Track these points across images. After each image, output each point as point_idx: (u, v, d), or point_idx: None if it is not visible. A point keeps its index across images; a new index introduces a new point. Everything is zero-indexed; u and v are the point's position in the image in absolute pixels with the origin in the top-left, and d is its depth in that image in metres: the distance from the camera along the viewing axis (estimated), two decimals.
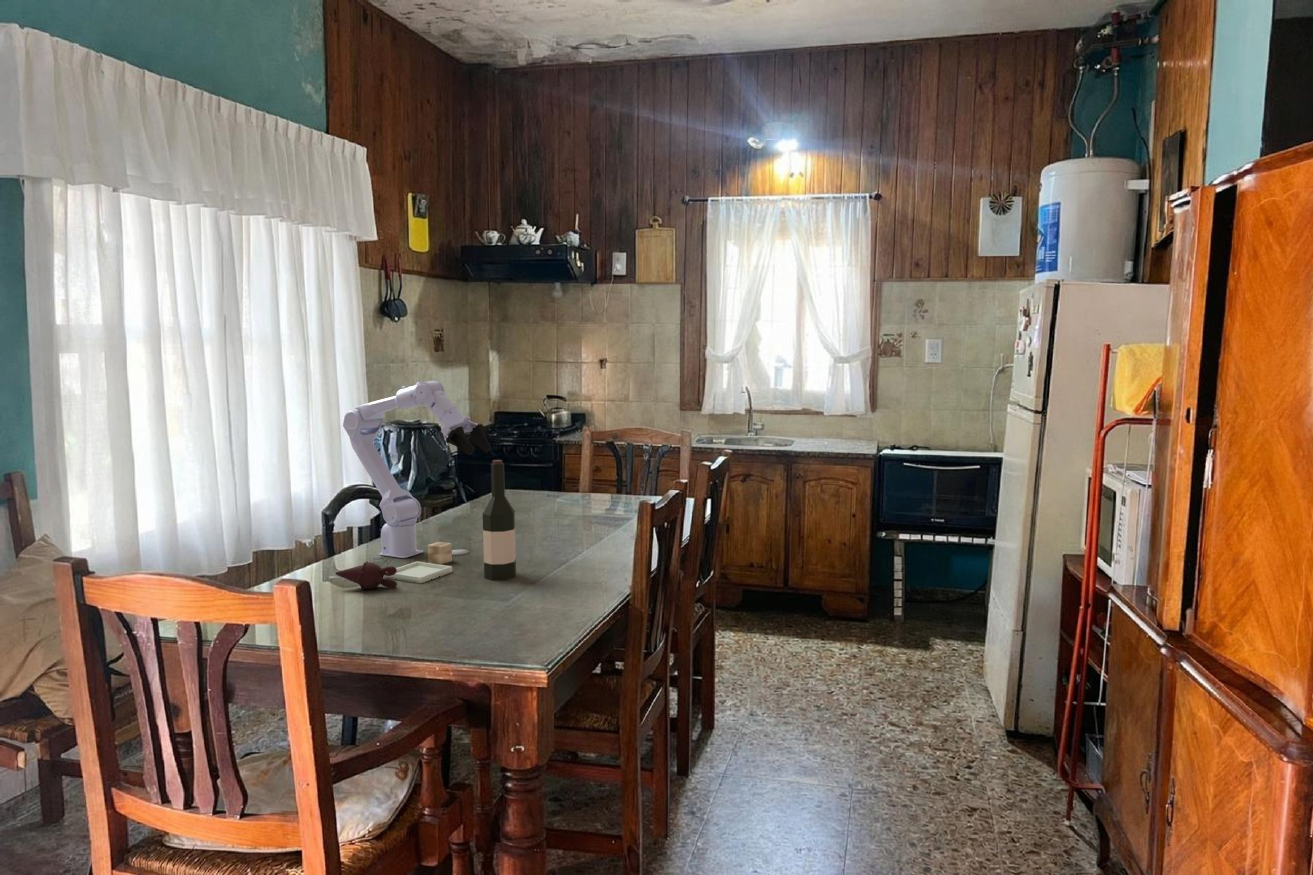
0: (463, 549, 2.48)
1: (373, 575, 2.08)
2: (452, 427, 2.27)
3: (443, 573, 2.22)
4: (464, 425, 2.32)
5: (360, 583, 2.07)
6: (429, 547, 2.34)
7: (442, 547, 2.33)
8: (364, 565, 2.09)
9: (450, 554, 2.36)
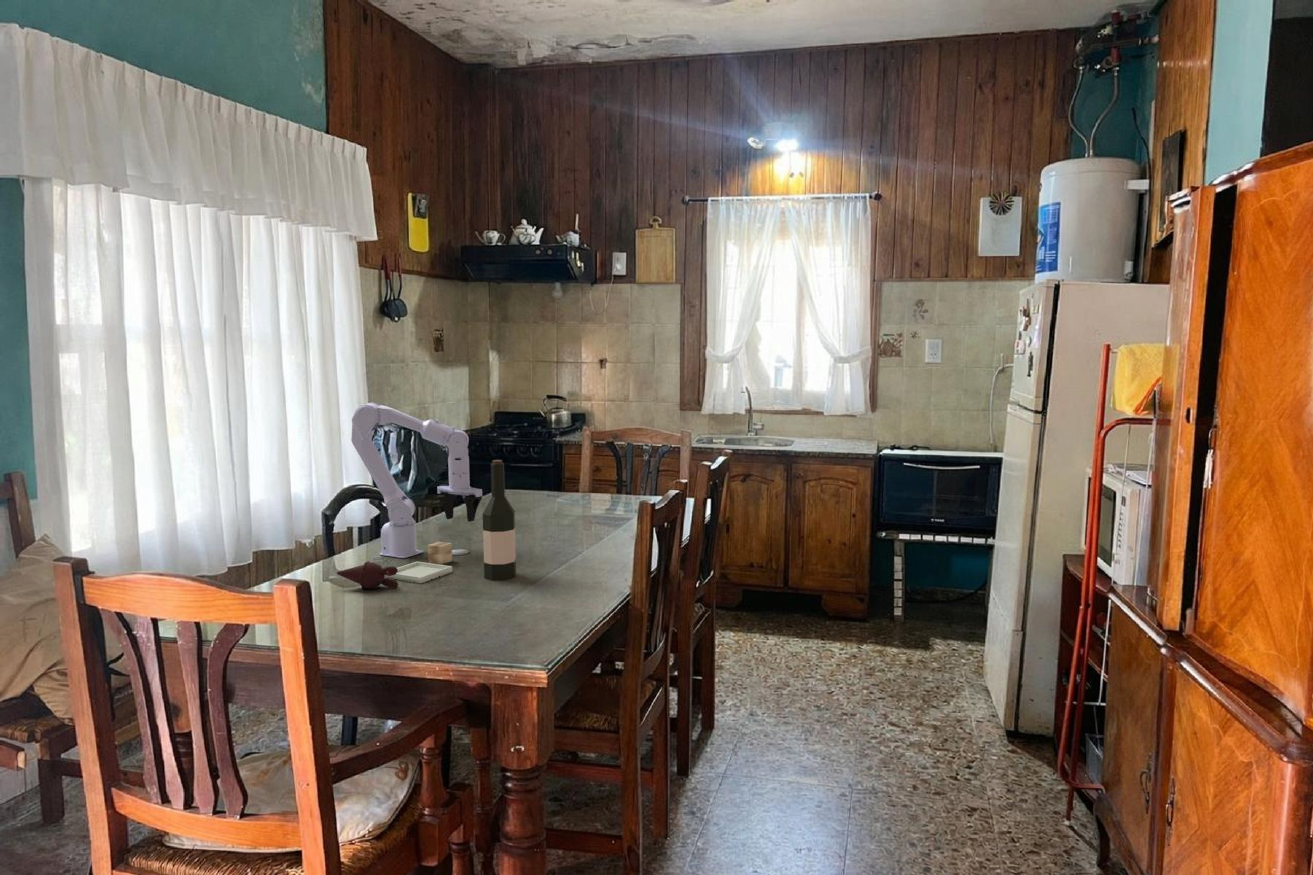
0: (463, 549, 2.48)
1: (374, 575, 2.08)
2: None
3: (443, 573, 2.22)
4: None
5: (361, 583, 2.07)
6: (429, 547, 2.34)
7: (442, 547, 2.33)
8: (365, 565, 2.09)
9: (450, 554, 2.36)
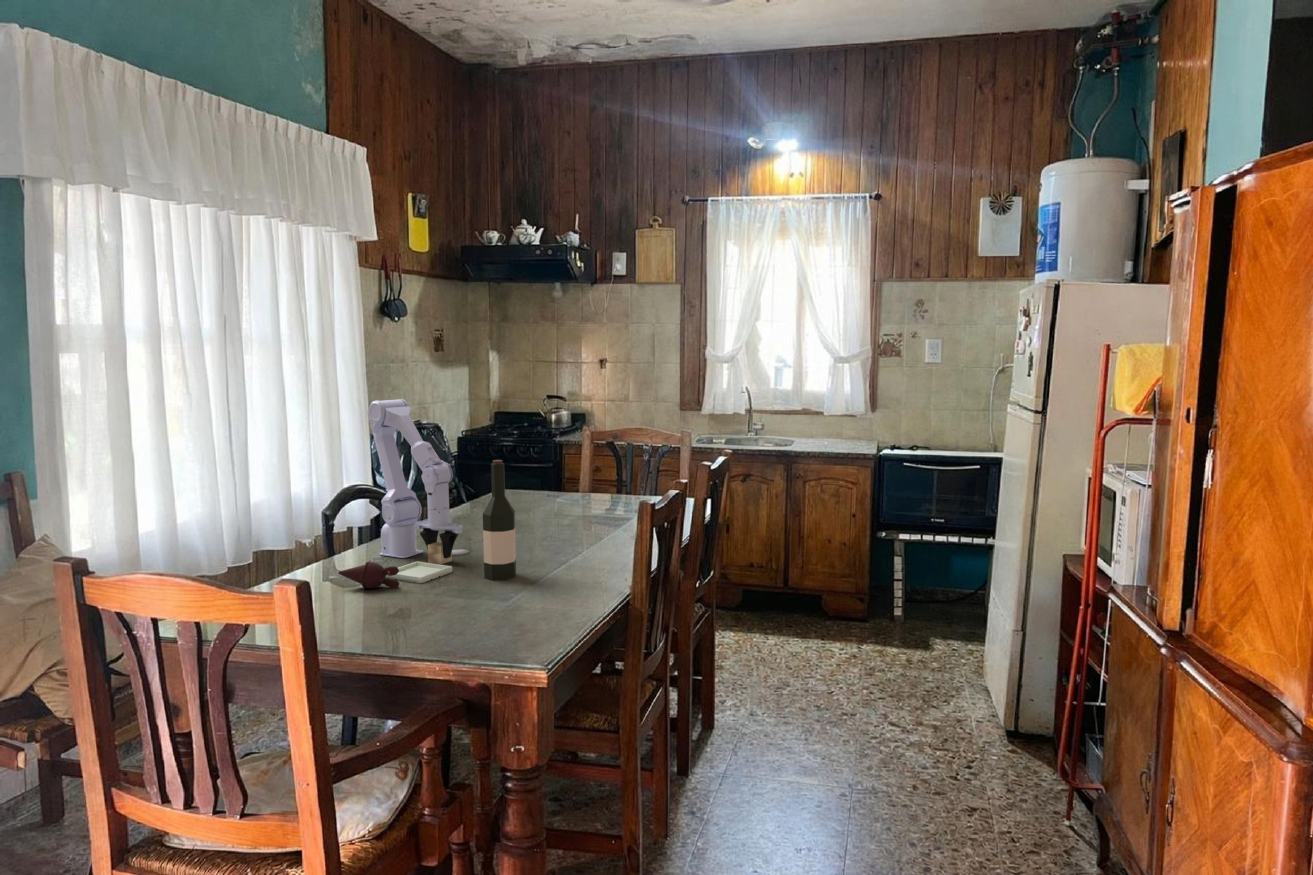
0: (463, 549, 2.48)
1: (375, 575, 2.08)
2: None
3: (443, 573, 2.22)
4: None
5: (362, 583, 2.07)
6: (429, 547, 2.34)
7: (442, 547, 2.33)
8: (366, 565, 2.09)
9: None
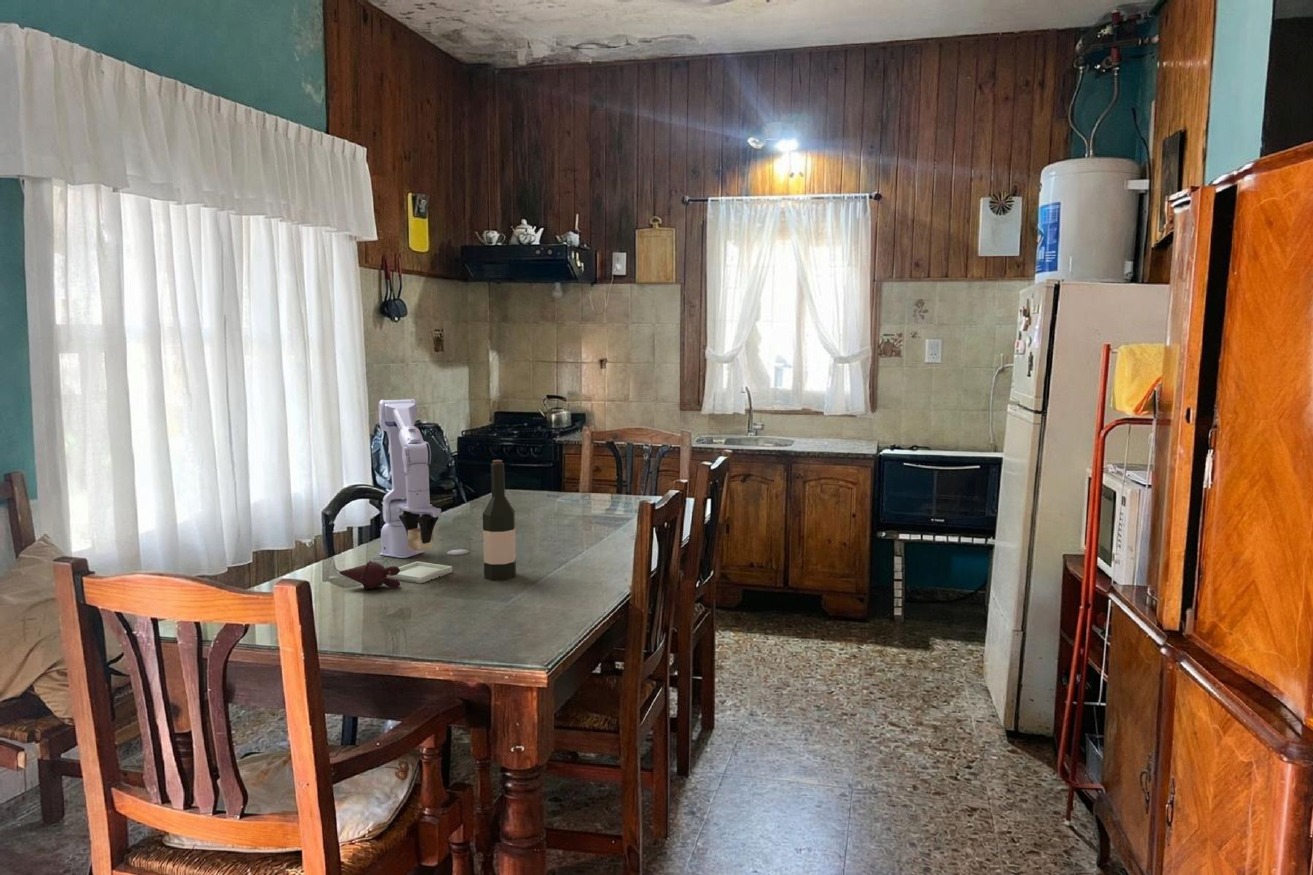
0: (463, 549, 2.48)
1: (376, 575, 2.08)
2: None
3: (443, 573, 2.22)
4: None
5: (363, 583, 2.08)
6: (409, 532, 2.22)
7: None
8: (367, 565, 2.09)
9: (431, 541, 2.23)
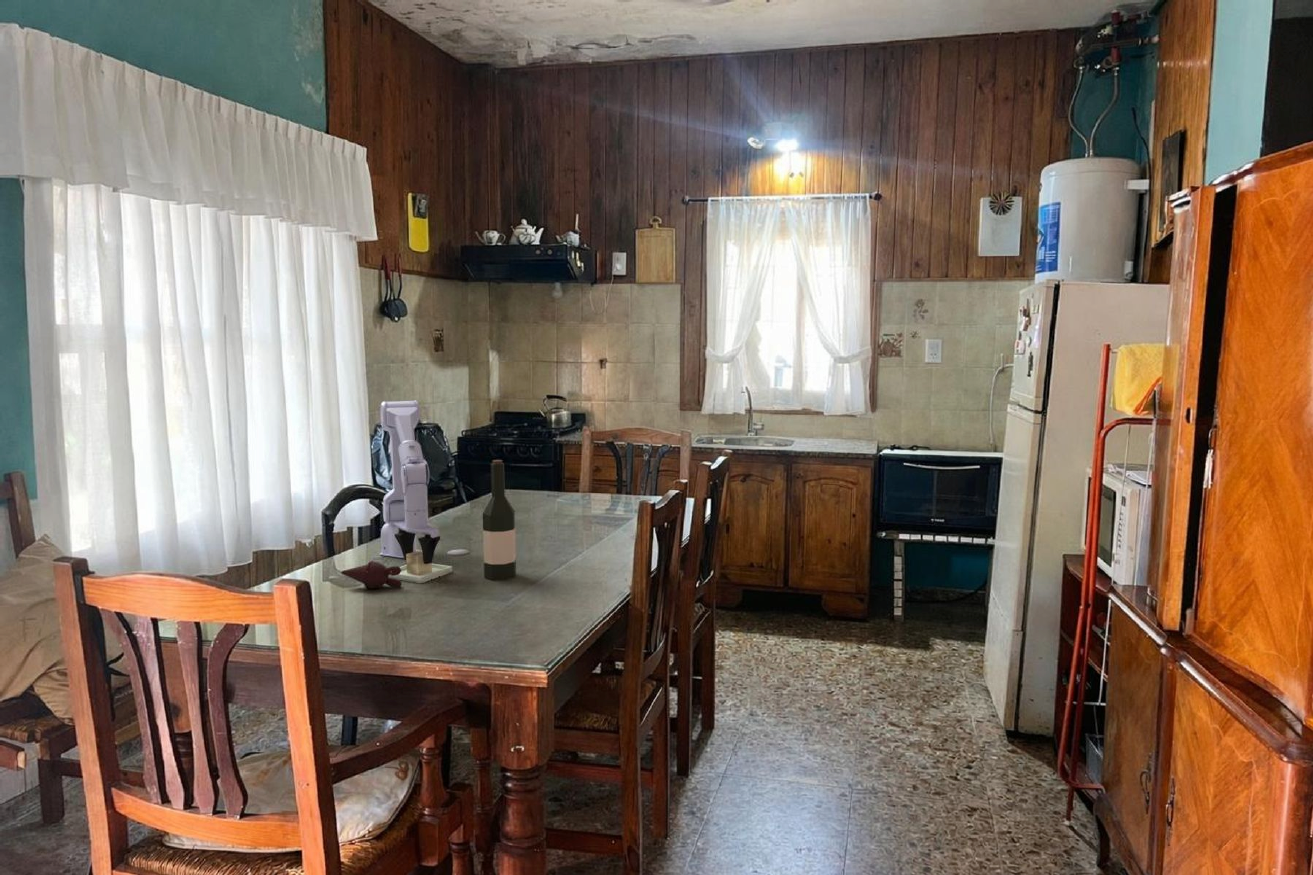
0: (463, 549, 2.48)
1: (378, 575, 2.08)
2: None
3: (443, 573, 2.22)
4: None
5: (364, 582, 2.08)
6: (407, 556, 2.21)
7: (420, 557, 2.20)
8: (369, 564, 2.09)
9: (429, 564, 2.23)
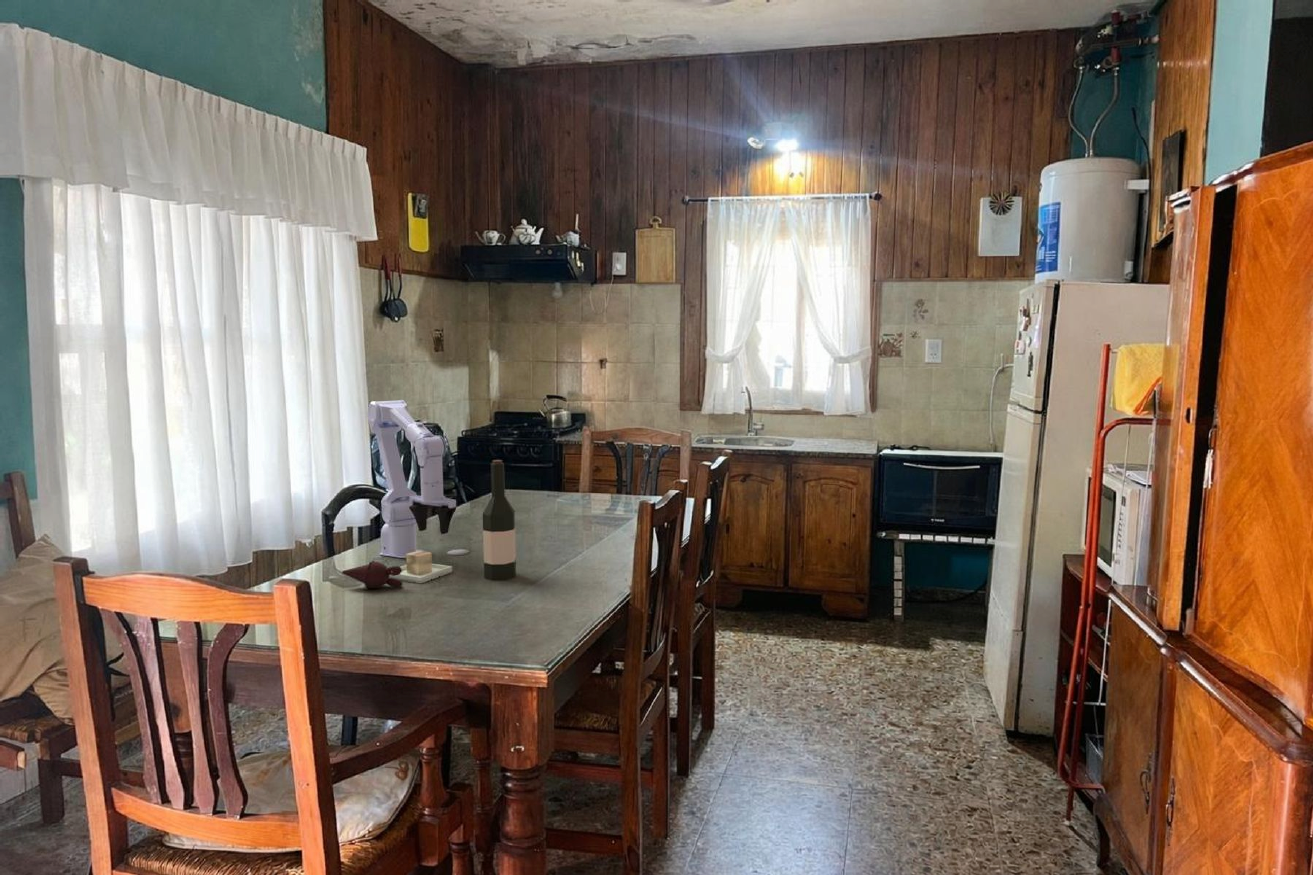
0: (463, 549, 2.48)
1: (378, 575, 2.08)
2: None
3: (443, 573, 2.22)
4: None
5: (365, 582, 2.08)
6: (407, 556, 2.21)
7: (420, 557, 2.20)
8: (370, 564, 2.09)
9: (429, 564, 2.23)
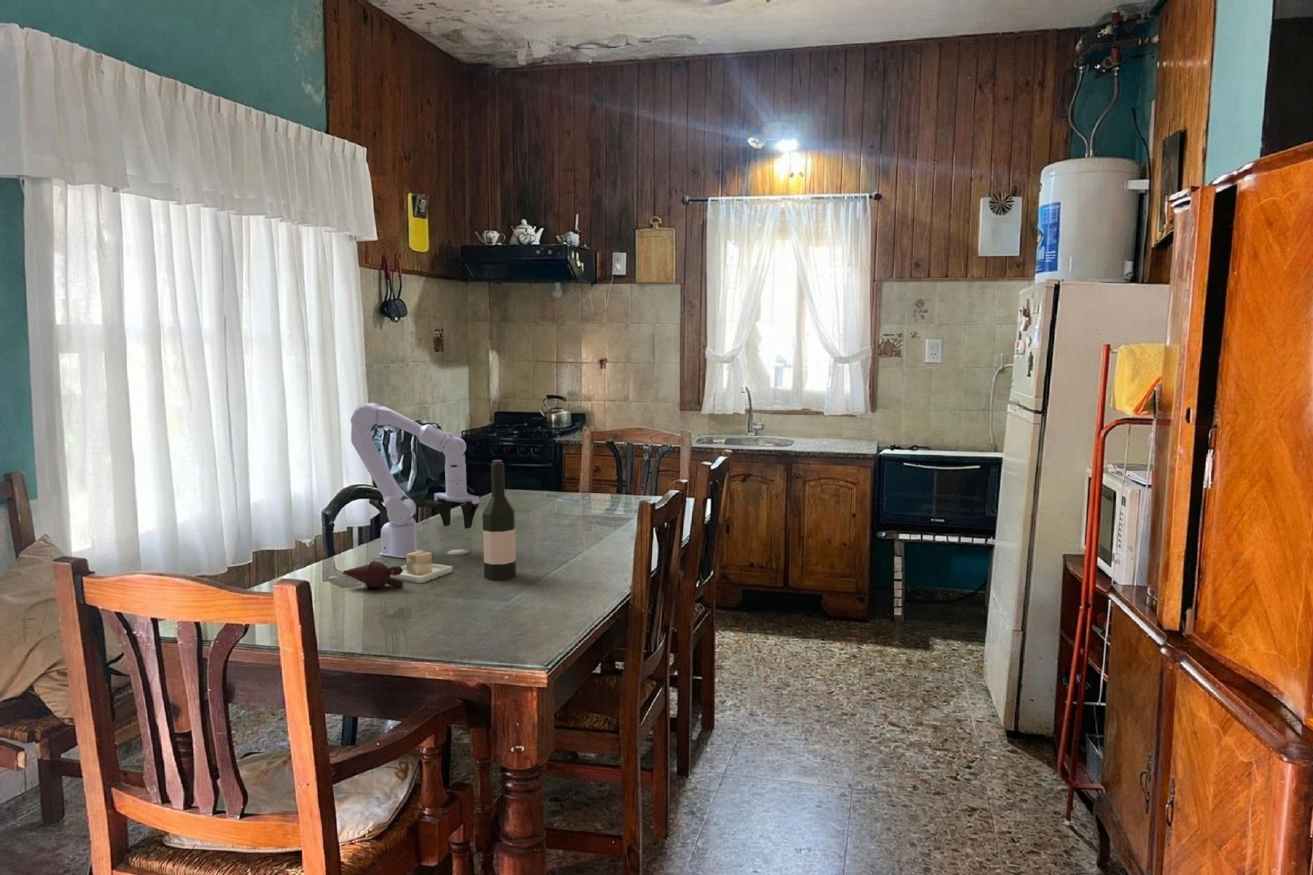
0: (463, 549, 2.48)
1: (379, 575, 2.08)
2: None
3: (443, 573, 2.22)
4: None
5: (366, 582, 2.08)
6: (407, 556, 2.21)
7: (420, 557, 2.20)
8: (370, 564, 2.09)
9: (429, 564, 2.23)
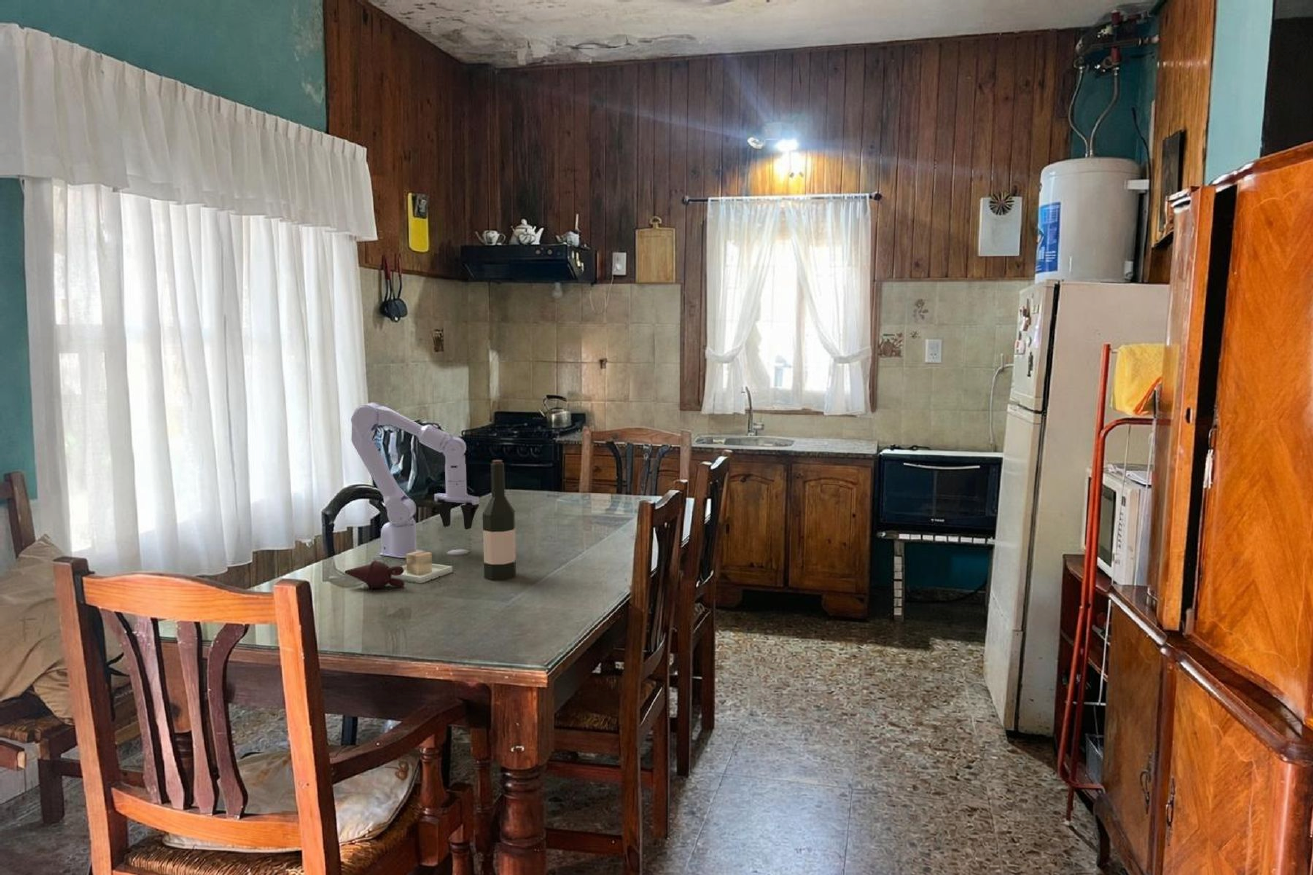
0: (463, 549, 2.48)
1: (380, 574, 2.08)
2: None
3: (443, 573, 2.22)
4: None
5: (367, 582, 2.08)
6: (407, 556, 2.21)
7: (420, 557, 2.20)
8: (372, 564, 2.09)
9: (429, 564, 2.23)
